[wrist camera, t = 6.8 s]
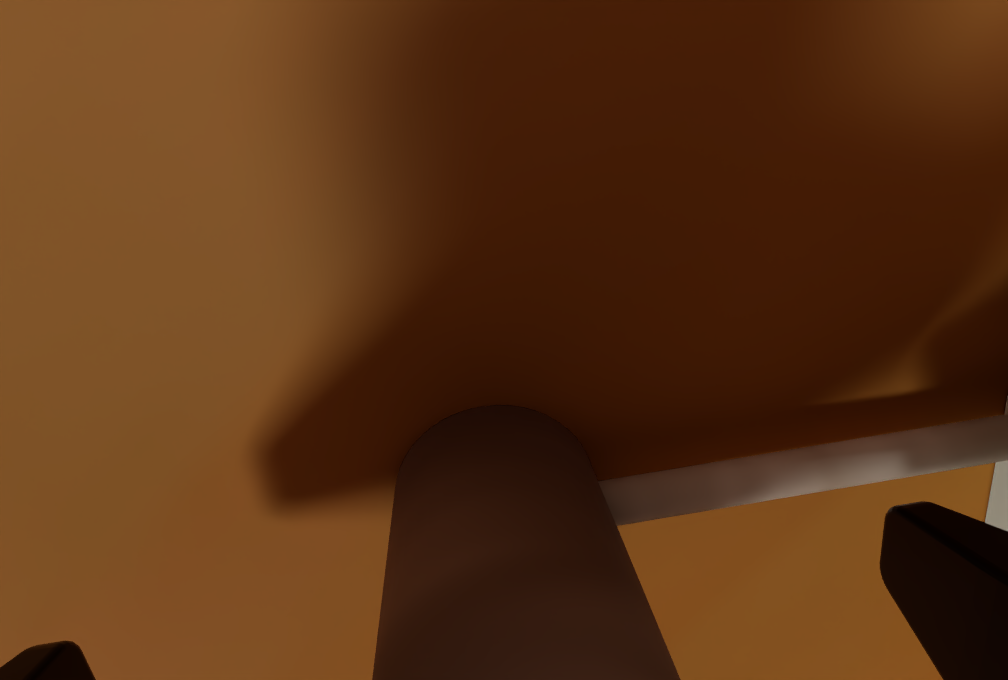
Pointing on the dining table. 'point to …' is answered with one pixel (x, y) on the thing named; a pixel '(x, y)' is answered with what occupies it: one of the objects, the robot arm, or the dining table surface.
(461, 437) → the block with cord
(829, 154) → the dining table surface
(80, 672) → the robot arm
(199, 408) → the dining table surface
